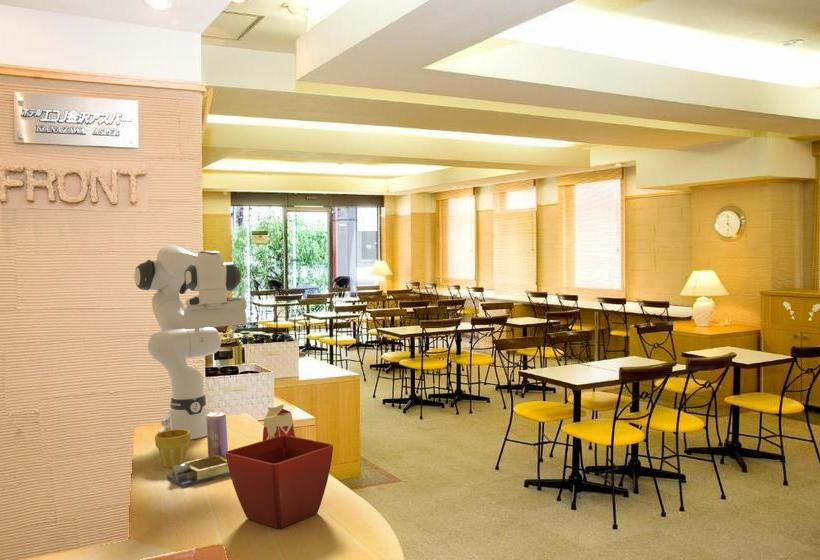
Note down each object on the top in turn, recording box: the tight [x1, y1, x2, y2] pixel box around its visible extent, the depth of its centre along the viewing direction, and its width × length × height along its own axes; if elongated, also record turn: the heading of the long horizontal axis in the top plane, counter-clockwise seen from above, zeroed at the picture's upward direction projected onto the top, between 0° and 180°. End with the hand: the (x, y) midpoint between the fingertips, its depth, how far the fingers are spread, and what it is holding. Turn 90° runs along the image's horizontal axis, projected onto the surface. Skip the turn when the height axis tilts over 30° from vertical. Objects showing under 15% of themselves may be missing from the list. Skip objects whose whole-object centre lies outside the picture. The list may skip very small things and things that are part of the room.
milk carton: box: [262, 404, 297, 441], centre depth 204 cm, size 9×9×20 cm
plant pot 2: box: [225, 435, 334, 530], centre depth 168 cm, size 19×19×17 cm
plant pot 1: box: [154, 429, 191, 468], centre depth 214 cm, size 10×10×10 cm
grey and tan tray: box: [166, 454, 230, 488], centre depth 203 cm, size 12×21×5 cm, turn 131°
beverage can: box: [206, 411, 229, 457], centre depth 215 cm, size 6×6×15 cm
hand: (216, 340), depth 225 cm, fingers open, 8 cm apart
